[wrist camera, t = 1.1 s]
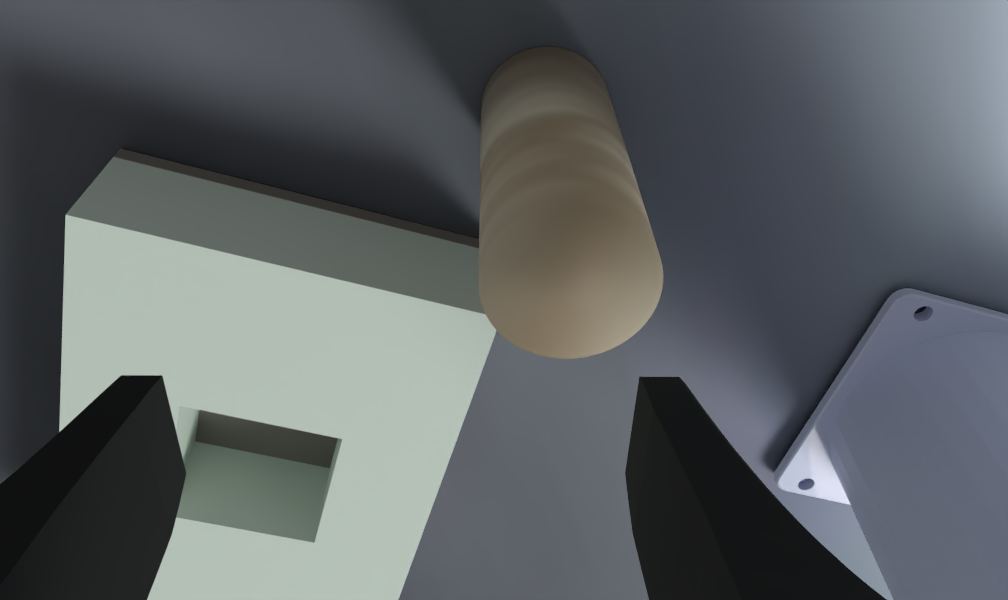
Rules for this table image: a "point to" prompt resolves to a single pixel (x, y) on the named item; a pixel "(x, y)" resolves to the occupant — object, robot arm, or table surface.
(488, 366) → the table surface
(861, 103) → the table surface
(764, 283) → the table surface
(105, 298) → the socket block
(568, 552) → the table surface
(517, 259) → the peg
